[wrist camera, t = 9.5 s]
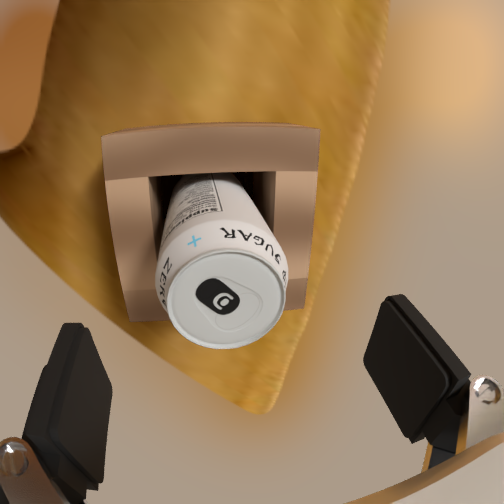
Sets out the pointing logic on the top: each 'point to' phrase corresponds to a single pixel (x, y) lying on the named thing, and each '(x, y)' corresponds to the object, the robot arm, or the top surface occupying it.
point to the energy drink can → (219, 264)
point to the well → (208, 161)
